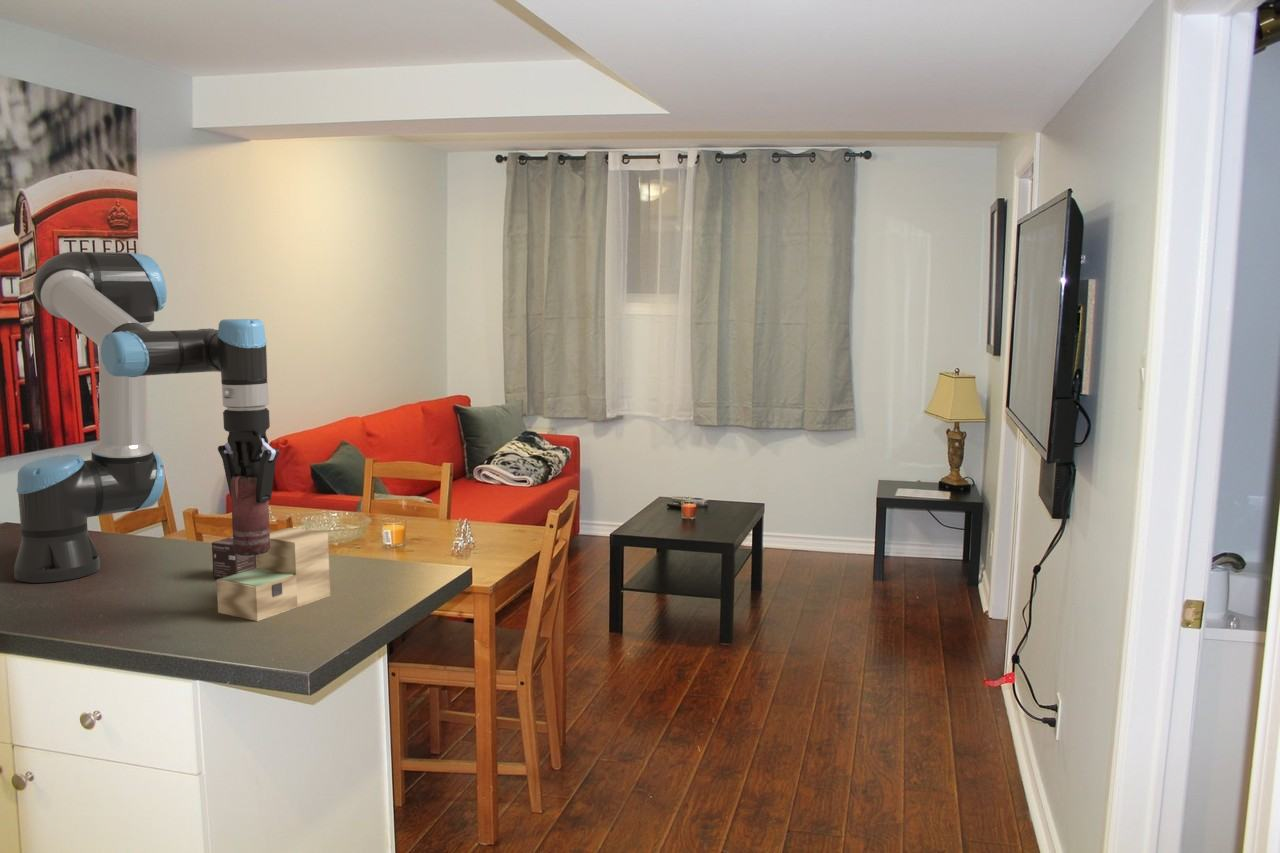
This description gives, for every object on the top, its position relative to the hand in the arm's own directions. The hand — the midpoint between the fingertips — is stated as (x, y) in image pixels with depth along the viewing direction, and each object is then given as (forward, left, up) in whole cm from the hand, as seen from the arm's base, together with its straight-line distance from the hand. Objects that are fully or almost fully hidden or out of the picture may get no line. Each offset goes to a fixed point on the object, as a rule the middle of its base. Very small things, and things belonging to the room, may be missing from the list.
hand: (252, 540), depth 182 cm
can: (0, 0, -2) cm, 2 cm away
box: (-22, +14, -13) cm, 29 cm away
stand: (0, +5, -13) cm, 14 cm away
